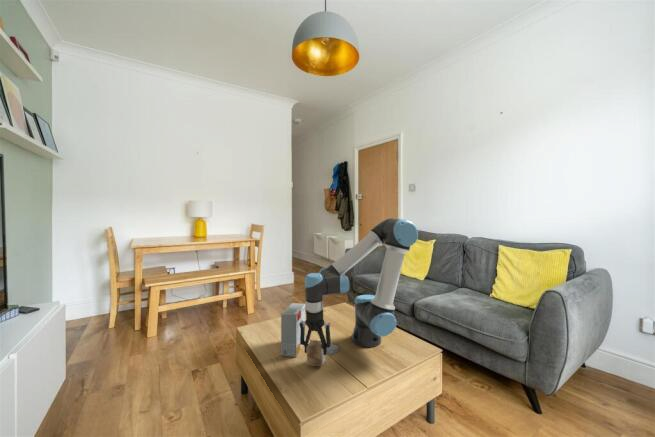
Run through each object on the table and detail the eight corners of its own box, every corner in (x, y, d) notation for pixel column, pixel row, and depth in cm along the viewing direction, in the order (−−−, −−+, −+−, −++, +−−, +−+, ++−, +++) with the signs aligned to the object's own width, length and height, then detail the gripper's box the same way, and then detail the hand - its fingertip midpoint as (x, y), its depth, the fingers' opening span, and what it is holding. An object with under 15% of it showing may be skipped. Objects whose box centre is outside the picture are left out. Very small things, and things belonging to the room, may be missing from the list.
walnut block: (324, 358, 120) (323, 341, 120) (320, 366, 114) (320, 348, 114) (311, 356, 122) (311, 339, 121) (307, 364, 116) (306, 346, 115)
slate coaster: (339, 346, 134) (339, 344, 134) (336, 356, 125) (336, 354, 125) (322, 343, 136) (322, 342, 136) (317, 353, 128) (317, 352, 127)
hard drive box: (296, 358, 124) (295, 315, 122) (280, 356, 125) (280, 314, 124) (305, 340, 139) (305, 303, 138) (291, 339, 140) (291, 302, 139)
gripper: (337, 307, 118) (338, 358, 119) (296, 304, 122) (298, 353, 124) (333, 314, 111) (335, 368, 112) (290, 311, 115) (292, 363, 117)
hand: (316, 360), depth 118 cm, fingers closed on walnut block, 6 cm apart
